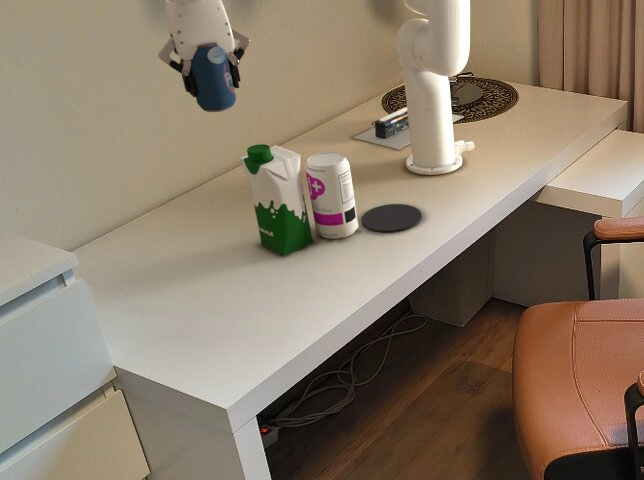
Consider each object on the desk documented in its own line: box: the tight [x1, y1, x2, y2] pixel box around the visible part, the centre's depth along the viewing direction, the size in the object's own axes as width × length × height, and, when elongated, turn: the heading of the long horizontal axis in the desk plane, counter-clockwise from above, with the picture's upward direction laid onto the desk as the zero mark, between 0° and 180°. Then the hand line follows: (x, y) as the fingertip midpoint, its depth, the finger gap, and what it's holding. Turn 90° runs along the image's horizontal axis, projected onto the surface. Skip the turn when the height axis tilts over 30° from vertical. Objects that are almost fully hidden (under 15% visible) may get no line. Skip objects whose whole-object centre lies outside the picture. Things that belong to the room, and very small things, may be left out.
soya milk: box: [239, 143, 314, 257], centre depth 168 cm, size 9×9×20 cm
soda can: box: [190, 42, 237, 113], centre depth 164 cm, size 7×7×12 cm
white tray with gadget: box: [352, 106, 465, 150], centre depth 223 cm, size 14×25×4 cm, turn 146°
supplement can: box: [304, 151, 359, 240], centre depth 174 cm, size 8×8×15 cm
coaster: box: [360, 203, 423, 234], centre depth 182 cm, size 12×12×1 cm
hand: (214, 89), depth 166 cm, fingers closed on soda can, 7 cm apart
